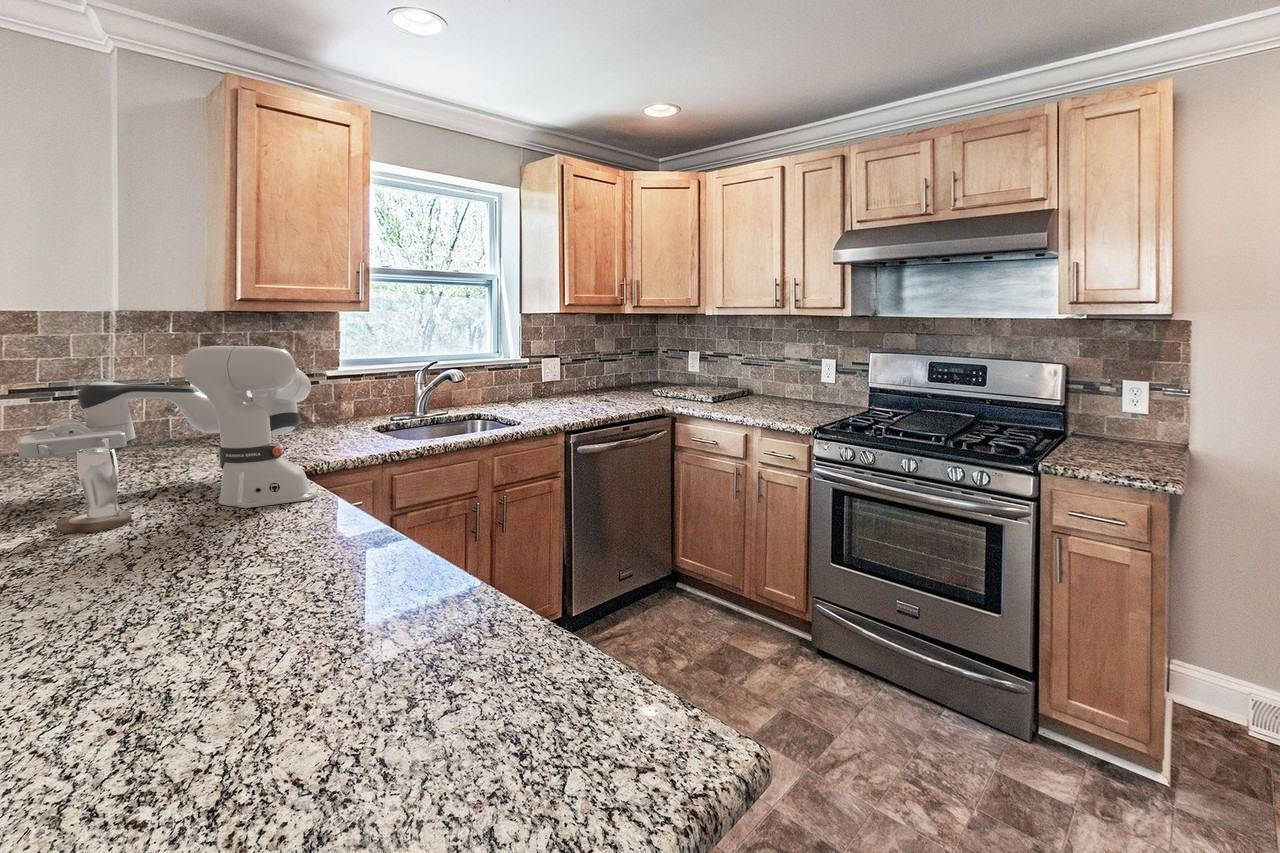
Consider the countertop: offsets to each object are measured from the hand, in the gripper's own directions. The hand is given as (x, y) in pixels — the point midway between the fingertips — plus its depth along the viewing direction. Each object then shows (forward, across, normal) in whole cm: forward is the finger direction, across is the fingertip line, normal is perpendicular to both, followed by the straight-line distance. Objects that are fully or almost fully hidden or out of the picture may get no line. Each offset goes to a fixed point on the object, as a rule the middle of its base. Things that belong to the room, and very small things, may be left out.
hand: (76, 448), depth 158 cm
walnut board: (+16, 0, -15) cm, 22 cm away
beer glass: (+16, -2, -14) cm, 21 cm away
